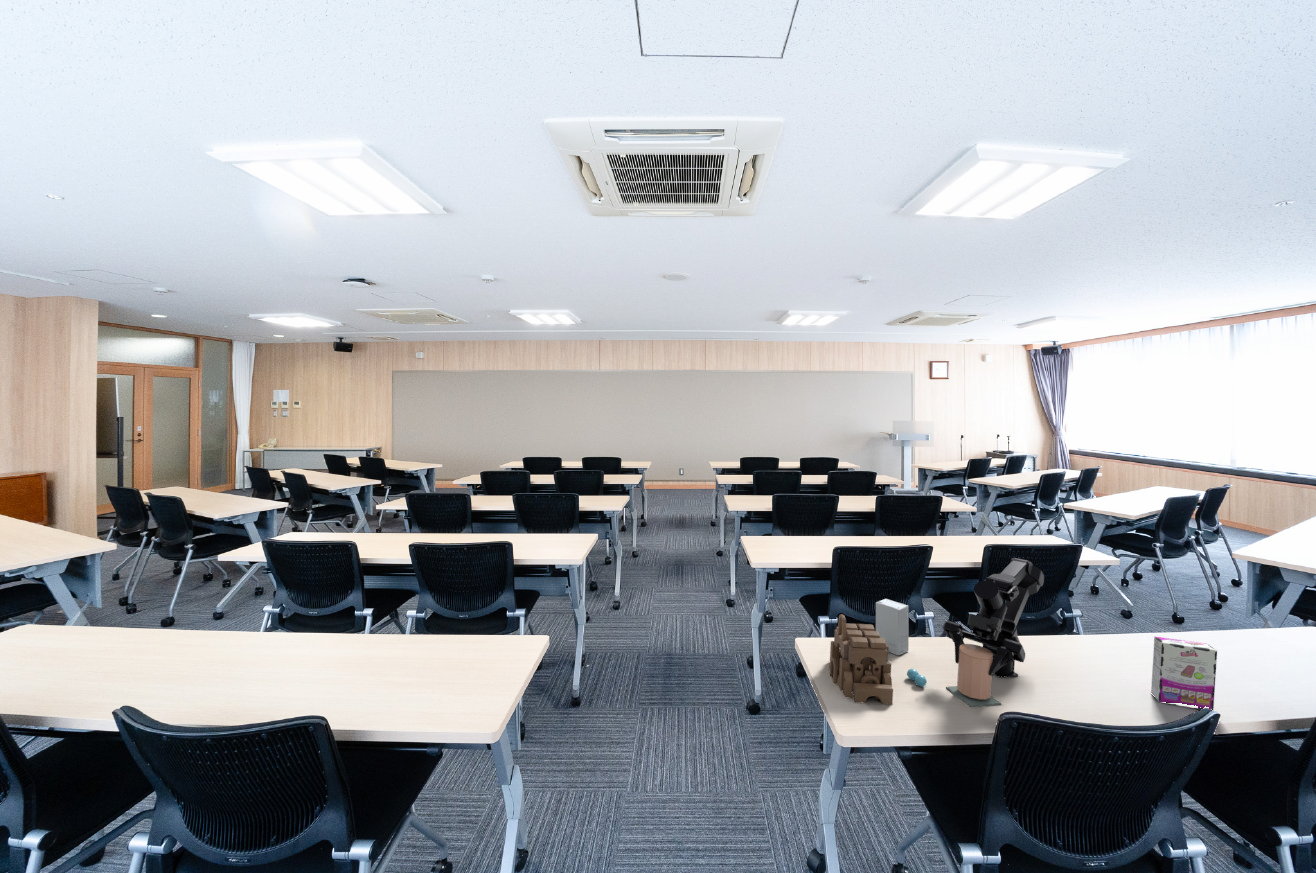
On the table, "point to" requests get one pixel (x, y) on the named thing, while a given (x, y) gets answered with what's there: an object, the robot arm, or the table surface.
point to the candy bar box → (1184, 672)
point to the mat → (973, 701)
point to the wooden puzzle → (860, 662)
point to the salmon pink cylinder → (974, 671)
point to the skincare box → (893, 625)
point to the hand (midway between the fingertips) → (972, 668)
